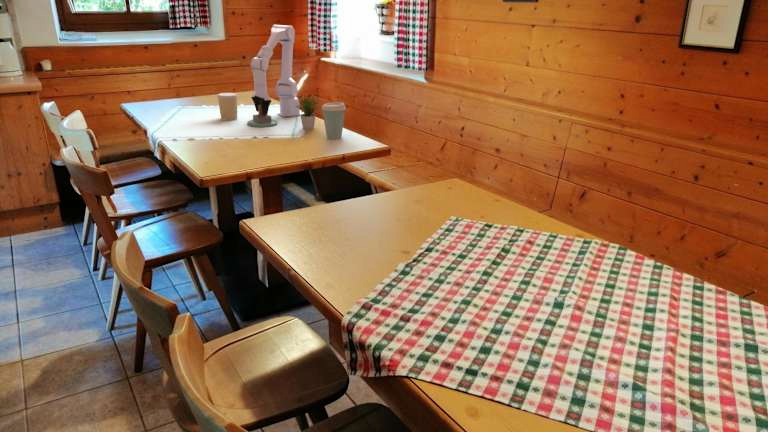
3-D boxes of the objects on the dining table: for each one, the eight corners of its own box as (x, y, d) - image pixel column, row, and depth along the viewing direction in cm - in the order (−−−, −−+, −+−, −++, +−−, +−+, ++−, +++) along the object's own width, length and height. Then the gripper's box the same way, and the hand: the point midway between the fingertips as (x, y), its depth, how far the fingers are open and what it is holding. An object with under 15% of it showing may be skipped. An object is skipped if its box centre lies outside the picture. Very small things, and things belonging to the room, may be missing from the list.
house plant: (318, 133, 256) (317, 97, 249) (289, 131, 258) (287, 95, 252) (327, 126, 268) (326, 92, 262) (299, 124, 271) (298, 90, 265)
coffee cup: (241, 117, 282) (239, 93, 278) (235, 121, 274) (233, 96, 269) (223, 116, 283) (221, 92, 279) (216, 120, 274) (214, 95, 270)
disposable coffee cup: (324, 140, 244) (323, 106, 238) (320, 134, 254) (319, 101, 248) (348, 139, 247) (348, 105, 241) (343, 133, 256) (343, 100, 251)
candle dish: (270, 119, 279) (269, 111, 277) (282, 125, 268) (281, 117, 267) (243, 122, 272) (242, 114, 270) (254, 128, 261) (253, 120, 259)
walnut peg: (263, 120, 271) (263, 104, 268) (266, 122, 269) (265, 105, 266) (258, 121, 270) (257, 104, 267) (260, 122, 268) (259, 106, 265)
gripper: (246, 82, 266) (248, 110, 271) (258, 87, 255) (259, 116, 260) (260, 81, 270) (262, 109, 275) (272, 85, 259) (274, 115, 264)
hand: (261, 112), depth 268 cm, fingers open, 7 cm apart
